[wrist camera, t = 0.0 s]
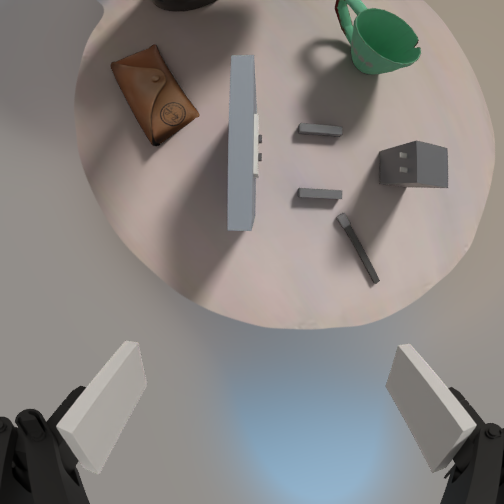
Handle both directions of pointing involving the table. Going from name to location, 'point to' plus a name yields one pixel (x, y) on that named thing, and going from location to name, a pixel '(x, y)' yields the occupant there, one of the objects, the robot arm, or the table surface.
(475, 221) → the table surface
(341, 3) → the mug
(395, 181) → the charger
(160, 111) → the sunglasses case
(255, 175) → the outlet board
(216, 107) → the table surface
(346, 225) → the grey long bar
